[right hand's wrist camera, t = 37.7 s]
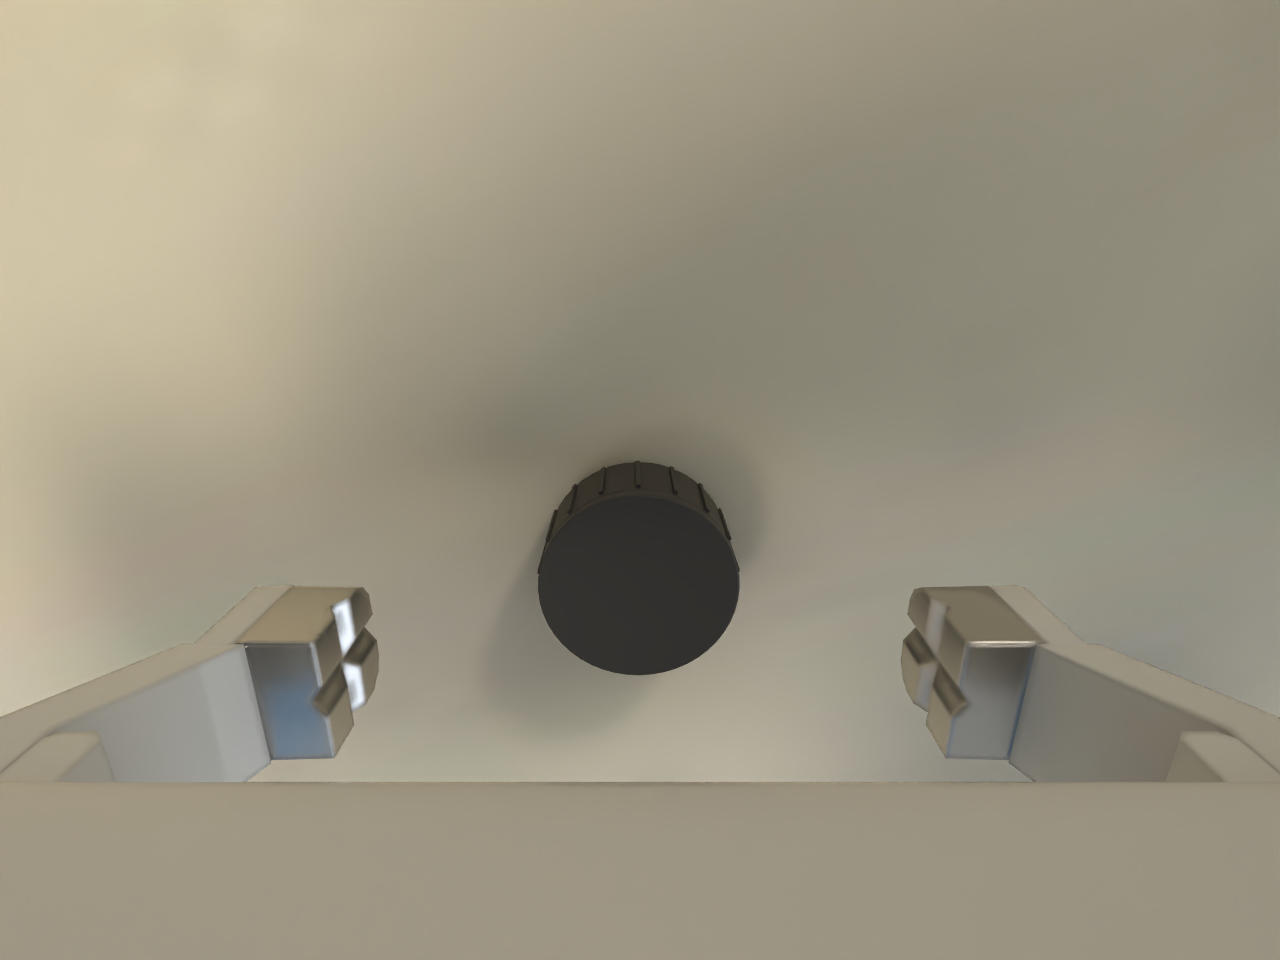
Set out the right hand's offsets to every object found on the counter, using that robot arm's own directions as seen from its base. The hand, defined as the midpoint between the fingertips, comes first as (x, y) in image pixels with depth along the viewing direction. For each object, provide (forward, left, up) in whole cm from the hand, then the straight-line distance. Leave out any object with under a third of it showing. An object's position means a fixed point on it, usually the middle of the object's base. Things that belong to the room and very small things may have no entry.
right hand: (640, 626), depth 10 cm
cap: (+1, 0, -3) cm, 3 cm away
